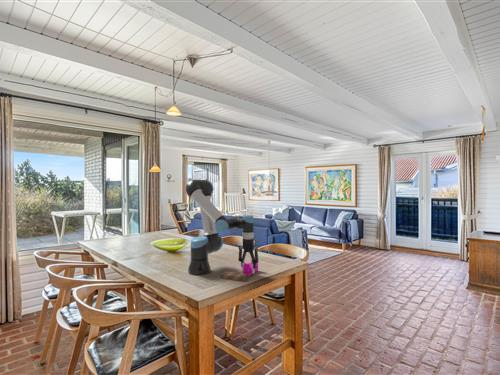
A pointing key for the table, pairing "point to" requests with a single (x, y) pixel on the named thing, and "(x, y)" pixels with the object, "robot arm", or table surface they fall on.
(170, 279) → the table surface
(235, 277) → the brown flat bar
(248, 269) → the toy block
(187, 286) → the table surface
